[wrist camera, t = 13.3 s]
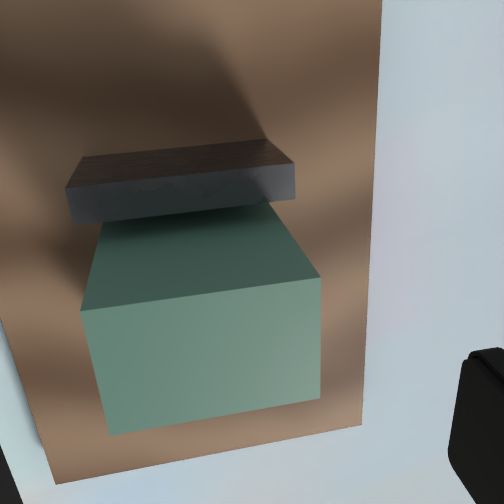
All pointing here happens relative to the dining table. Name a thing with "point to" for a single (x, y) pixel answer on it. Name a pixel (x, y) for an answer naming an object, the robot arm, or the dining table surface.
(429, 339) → the dining table surface
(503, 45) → the dining table surface
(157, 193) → the stand
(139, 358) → the green rectangular block
